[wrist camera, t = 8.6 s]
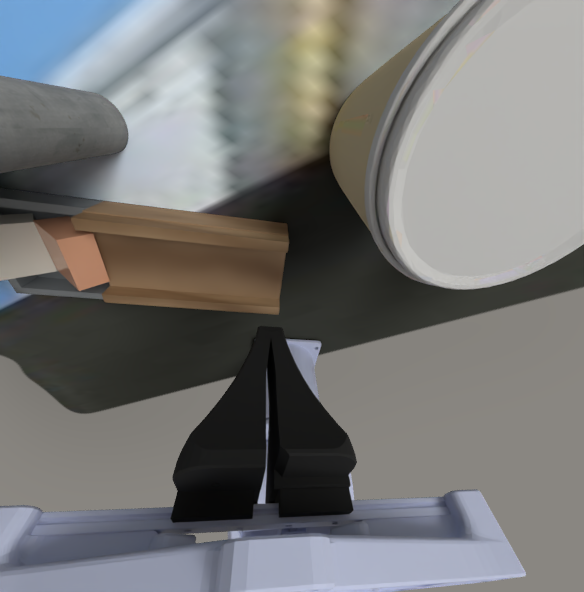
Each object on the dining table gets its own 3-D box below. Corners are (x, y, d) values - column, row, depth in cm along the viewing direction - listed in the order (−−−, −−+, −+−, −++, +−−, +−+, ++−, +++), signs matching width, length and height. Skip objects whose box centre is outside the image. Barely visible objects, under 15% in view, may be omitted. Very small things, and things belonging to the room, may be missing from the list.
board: (277, 291, 24) (278, 315, 21) (128, 278, 22) (105, 303, 19) (286, 223, 20) (289, 241, 17) (104, 200, 18) (69, 216, 15)
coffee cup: (471, 142, 17) (737, 165, 7) (365, 233, 20) (447, 330, 11) (408, -1, 13) (843, -408, 3) (289, 146, 16) (312, 176, 7)
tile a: (109, 281, 19) (79, 291, 17) (86, 262, 20) (56, 269, 19) (93, 233, 16) (56, 240, 15) (68, 216, 18) (32, 220, 16)
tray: (131, 287, 22) (120, 300, 21) (36, 280, 21) (16, 292, 20) (104, 200, 18) (87, 208, 16) (-20, 185, 17) (-51, 192, 15)
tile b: (-20, 284, 16) (-18, 271, 17) (57, 271, 19) (55, 260, 20) (-61, 228, 14) (-55, 217, 15) (33, 222, 16) (32, 213, 18)
